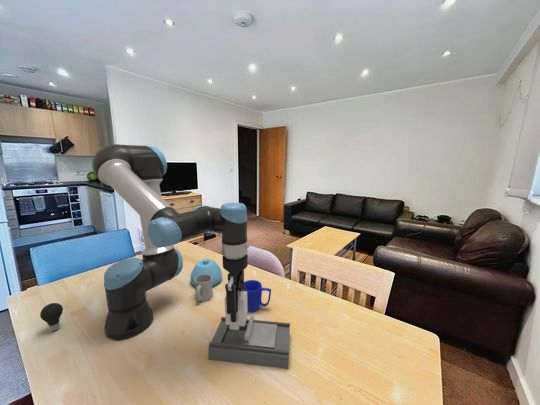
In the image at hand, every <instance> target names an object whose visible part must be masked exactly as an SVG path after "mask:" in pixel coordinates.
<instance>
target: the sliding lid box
mask: <svg viewBox="0 0 540 405" xmlns="http://www.w3.org/2000/svg"><path fill="white" fill-rule="evenodd" d="M249 320H250V318H247V320H246V323H245V326H244V327H242V326H239V330H232V329H229V325H226V321H225V316H221V318H220V323H219V325H218V327H217V328H216V331H215V333H214V335H213V337H212V338H211V341H209V343H208V349H207V350H208V351H207V352H208V360H211V361H220V362H227V363H236V364H245V365H246V364H247V365H252V366H253V365H255V366H264V367H272V368H280V369H289V360H290V358H289V356H290V354H289V353H290V336H291V334H290V332H291V331H290V329H291V323H290V322H283V321H281V322H279V321H270V320H269V321H268V320H259V319H254V322H255V323H266V324H277V331H276V340H275V348H274V349H271V348H262V347H252V346H245V333H246V330H247V327H248V323H249Z"/></svg>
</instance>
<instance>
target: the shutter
mask: <svg viewBox="0 0 540 405" xmlns="http://www.w3.org/2000/svg"><path fill="white" fill-rule="evenodd" d="M249 319H250V320H249V323H248V327H247V330H246V333H245V346H252V347H262V348H271V349H274V348H275V340H276V331H277V324H266V323H255V322H254V320H255V315H250V317H249Z"/></svg>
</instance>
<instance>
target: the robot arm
mask: <svg viewBox="0 0 540 405" xmlns="http://www.w3.org/2000/svg"><path fill="white" fill-rule="evenodd" d="M91 168H92V171H93V173H94V175H95V177H96V178H97V179H98V180H99V181H100V182H101V183H102V184H104V185H106V186H108V187H109V186H110V187H111V188H112V190H114V191H115V192H116V193H117V194H118V195H119V196H120V197H121V198H122V199H123V200H124V201H125V202H126V203H127V204H128V205H129V207H131V208H132V209H133V210H134V211H135V212H136V213H137V215H139V219H140V225H141V230H142V236H143V241H144V249H143V250H142V251H141V256H142V259H141V258H138V257H130V258H125V259H121V260H119V261H117V262H115V263H113V264H112V265H111V266H109V267H108V268H107V269H106V270H105V272H104V274H103V287H104V289H105V290H104V291H105V298H106V303H107V304H106V305H107V314H106V318H105V323H104V327H103V328H104V334H105V337H106V338H107V339H109V340H114V341H121V340H126V339H130V338H133V337H135V336H137V335H140V333H142V332H144V331H145V330H147V329H148V328H149V327H150V326H151V325H152V323H153V321H154V311H153V309H152V307H151V306H150V304H149V301H148V299H147V292H148V291H149V290H151V289H154V288H156V287H159V286H160V285H162V284H164V283H166V282H169V281H171V280H172V279H174V278H176V277H177V276H179V275H180V273H181V272H182V270H183V268H184V260H183V255H182V254H181V251H180V250H179V249H177V248H175V246H174V245H177V244H178V243H181V242H184V241H187V240H189V239H191V238H194V237H195V238H196V237H198V236H201V235H203V234H207V233H210V232H211V233H217V234H221V254H222V268H223V269H224V270H225V271H227V272H228V273H227V281H228V283H225V285H224V288H225V297H226V301H227V310H226V312H227V314H230V329H232V330H239V310H238V290H239V291H244V282H245V270H246V269H247V267H248V265H249V264H248V263H249V261H248V260H249V259H248V257H249V255H248V248H250V245H249V244H248V214H247V206H246V205H245V204H244V203H242V202H226V203H223V204H222V205H221V206H220V207H214V206H208V205H197V206H195V207H194V208H193V209H191V210H189V211H185V212H181V213H180V212H178V211H177V210H176V209H175V208H173V207H172V206H171V205H170V204H169V203H168V202H167V201H166V200H165V199H163V197H162V191H161V187H160V185H161V183H162V181H163V176H164V175H165V174H166V173H167V169H168V162H167V159H166V157H165V154H164V153H163V152H162V151H161V150H160V149H159V148H158V147H156V146H148V145H138V144H137V145H135V144H133V145H132V144H118V143H117V144H116V143H115V144H109V145H105V146H103V147H101V148H100V149H98V151H97V152H95V155H94V156H93V158H92V162H91Z"/></svg>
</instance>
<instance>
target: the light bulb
mask: <svg viewBox="0 0 540 405" xmlns="http://www.w3.org/2000/svg"><path fill="white" fill-rule="evenodd" d="M63 309H64V308H63V306H62V304H60V303H58V302H53V303H52V302H51V303H49V304H46V305H44V307H43V308H42V309H41V311H40V315H39V316H40V319H41V320H42V321H44V322H45V323H46V324H47V325H48V327H49V330H50V331H51V332H53V331H57V330H58V329H59V328H60V318H61V317H62V314H63V311H64V310H63Z"/></svg>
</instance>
